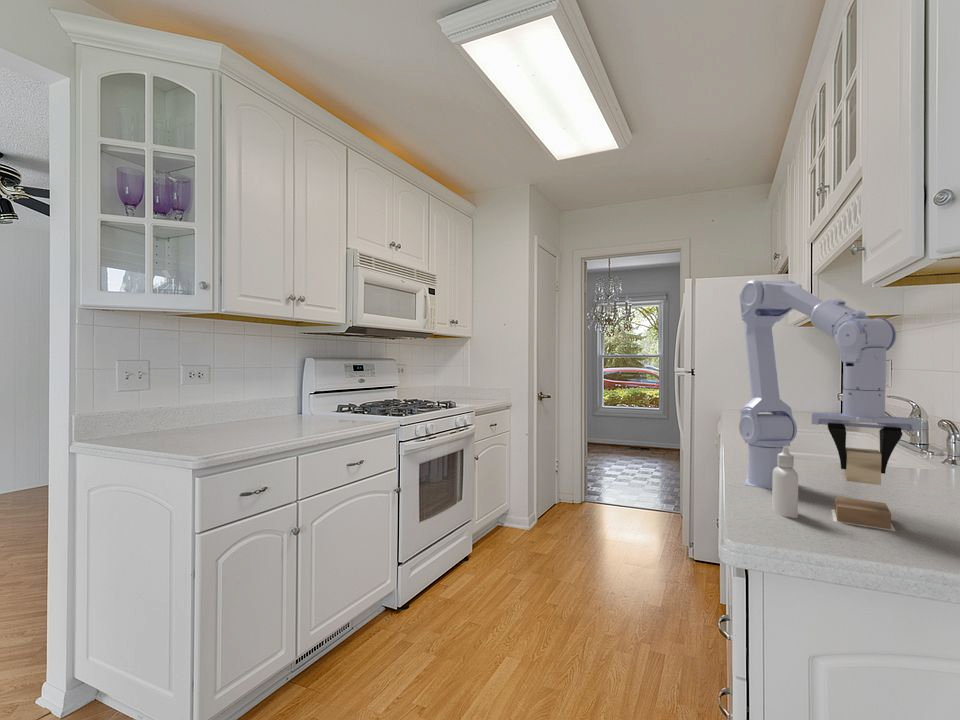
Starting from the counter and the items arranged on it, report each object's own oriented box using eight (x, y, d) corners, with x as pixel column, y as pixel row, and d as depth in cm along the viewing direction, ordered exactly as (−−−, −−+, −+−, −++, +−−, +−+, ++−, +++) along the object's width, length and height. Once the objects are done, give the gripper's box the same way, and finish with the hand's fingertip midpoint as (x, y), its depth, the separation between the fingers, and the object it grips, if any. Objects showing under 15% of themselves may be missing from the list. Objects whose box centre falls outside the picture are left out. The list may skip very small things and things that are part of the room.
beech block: (844, 475, 88) (845, 447, 88) (877, 479, 85) (878, 450, 85) (846, 481, 84) (847, 451, 84) (880, 485, 82) (881, 454, 82)
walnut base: (835, 510, 90) (835, 496, 90) (885, 517, 86) (885, 503, 86) (837, 521, 84) (837, 506, 84) (890, 529, 80) (891, 513, 80)
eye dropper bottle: (801, 514, 89) (803, 446, 89) (796, 521, 85) (797, 450, 85) (773, 508, 92) (774, 443, 92) (766, 516, 88) (768, 447, 88)
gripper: (812, 389, 85) (810, 468, 85) (925, 393, 77) (923, 481, 78) (811, 387, 91) (810, 461, 91) (916, 390, 83) (915, 472, 83)
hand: (862, 470), depth 85 cm, fingers closed on beech block, 4 cm apart
